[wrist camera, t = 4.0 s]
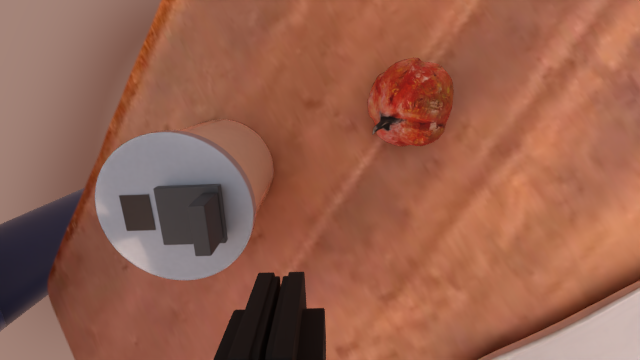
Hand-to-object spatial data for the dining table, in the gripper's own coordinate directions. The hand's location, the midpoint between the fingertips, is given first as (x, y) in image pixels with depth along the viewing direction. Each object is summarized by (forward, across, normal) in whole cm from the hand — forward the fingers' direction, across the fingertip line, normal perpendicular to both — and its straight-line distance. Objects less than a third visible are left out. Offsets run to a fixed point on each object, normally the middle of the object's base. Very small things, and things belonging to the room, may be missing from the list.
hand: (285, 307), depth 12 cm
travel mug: (+22, +9, 0) cm, 24 cm away
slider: (+10, +7, 0) cm, 12 cm away
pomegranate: (+23, -9, -6) cm, 25 cm away
